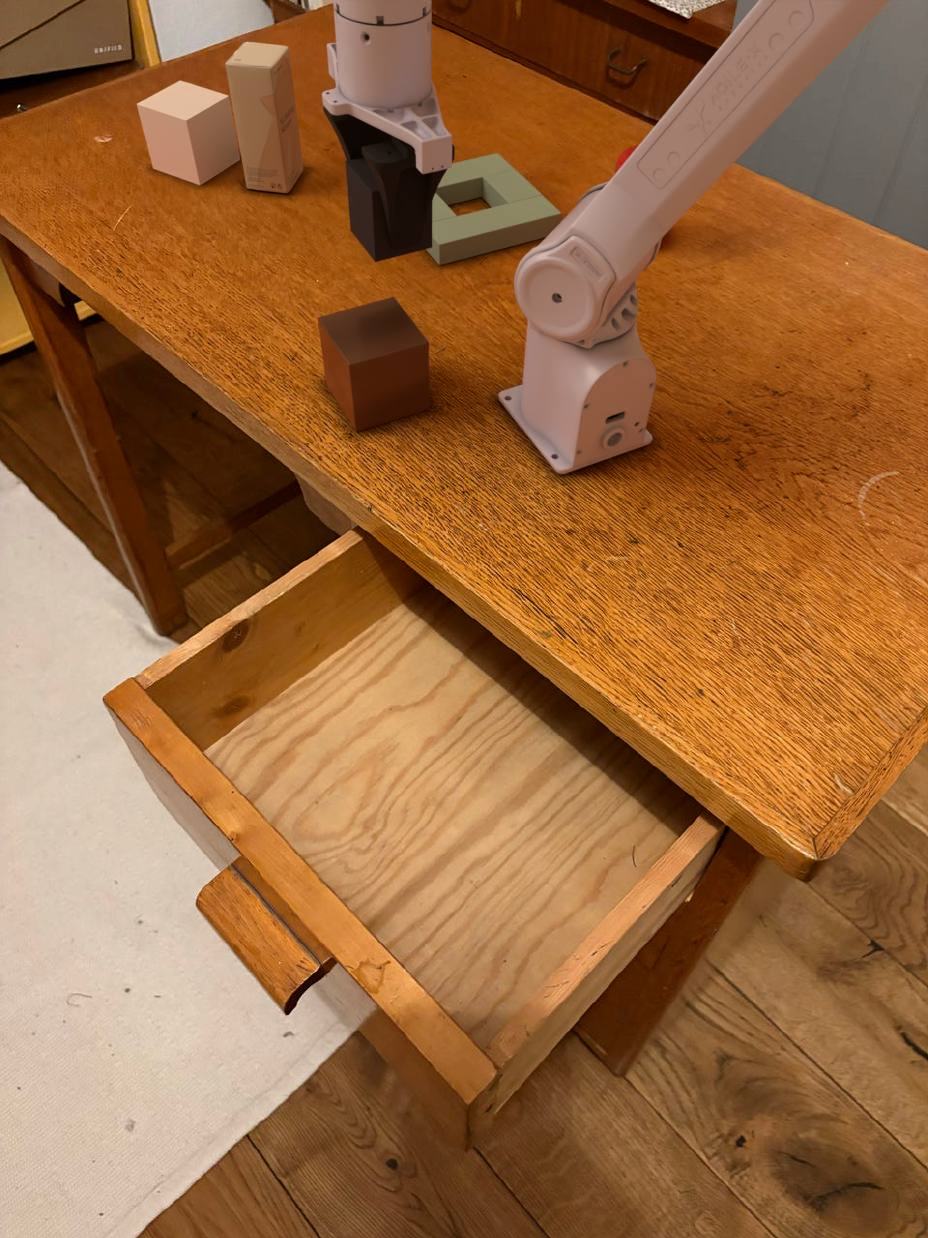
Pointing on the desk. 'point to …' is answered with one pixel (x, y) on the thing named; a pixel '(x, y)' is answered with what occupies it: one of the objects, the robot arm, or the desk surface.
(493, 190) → the square frame
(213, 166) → the pale pink cube
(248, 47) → the box
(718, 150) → the robot arm
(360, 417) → the cube
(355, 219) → the black block
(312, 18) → the desk surface
